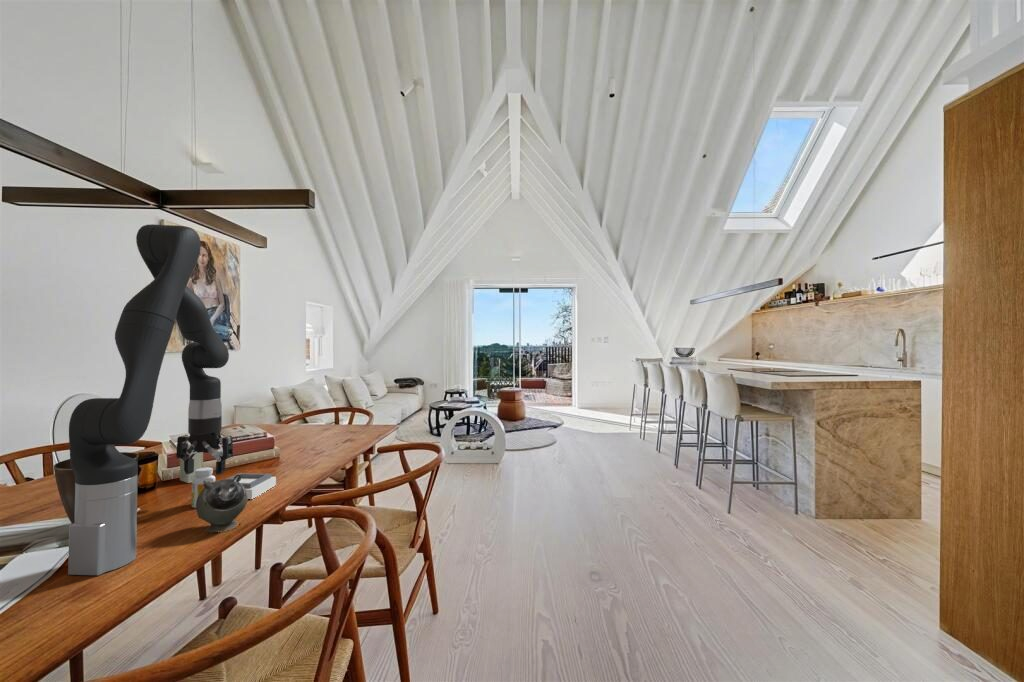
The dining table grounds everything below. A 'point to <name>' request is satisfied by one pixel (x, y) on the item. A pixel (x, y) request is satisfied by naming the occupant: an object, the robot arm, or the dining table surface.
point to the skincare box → (197, 465)
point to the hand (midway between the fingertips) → (204, 473)
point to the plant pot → (72, 484)
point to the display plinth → (256, 483)
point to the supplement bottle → (200, 482)
